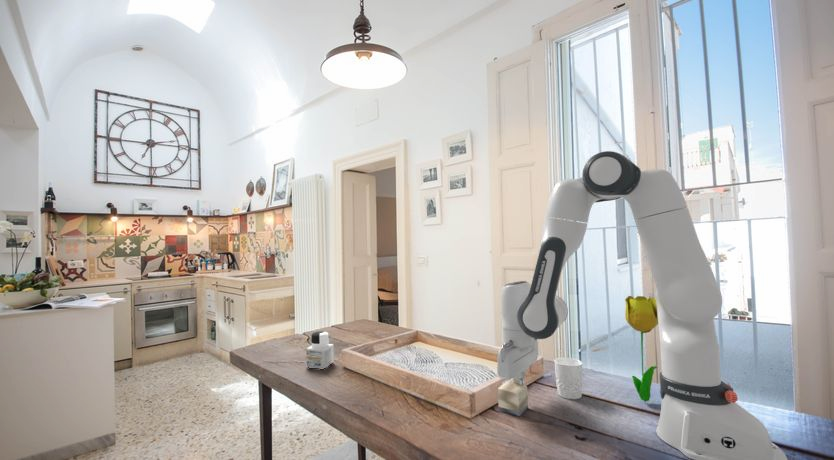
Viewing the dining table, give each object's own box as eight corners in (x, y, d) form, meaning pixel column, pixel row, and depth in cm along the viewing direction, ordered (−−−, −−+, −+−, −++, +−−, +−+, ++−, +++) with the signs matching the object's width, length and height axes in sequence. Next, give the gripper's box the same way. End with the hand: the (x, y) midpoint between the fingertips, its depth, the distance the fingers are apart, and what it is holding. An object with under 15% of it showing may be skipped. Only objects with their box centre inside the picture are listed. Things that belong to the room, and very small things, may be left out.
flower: (621, 400, 105) (617, 296, 106) (638, 394, 109) (634, 293, 110) (652, 412, 97) (647, 300, 99) (670, 405, 101) (664, 297, 102)
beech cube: (528, 407, 102) (526, 385, 102) (519, 416, 97) (518, 393, 98) (508, 402, 106) (507, 381, 106) (498, 410, 101) (497, 388, 101)
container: (306, 368, 140) (305, 334, 140) (317, 362, 147) (316, 329, 147) (323, 370, 137) (323, 335, 138) (334, 363, 145) (333, 330, 145)
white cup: (553, 397, 108) (552, 363, 109) (557, 388, 115) (555, 356, 116) (582, 402, 105) (581, 367, 105) (584, 392, 112) (583, 359, 112)
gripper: (512, 347, 96) (514, 400, 95) (541, 331, 112) (543, 377, 111) (490, 343, 100) (492, 394, 99) (521, 329, 116) (523, 373, 115)
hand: (519, 385), depth 105 cm, fingers closed
